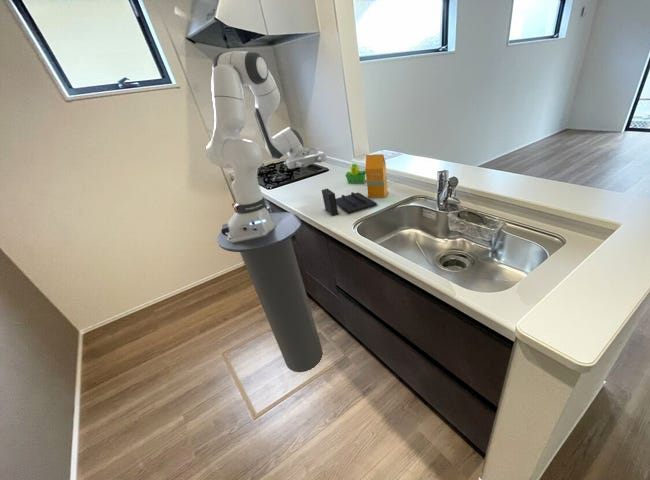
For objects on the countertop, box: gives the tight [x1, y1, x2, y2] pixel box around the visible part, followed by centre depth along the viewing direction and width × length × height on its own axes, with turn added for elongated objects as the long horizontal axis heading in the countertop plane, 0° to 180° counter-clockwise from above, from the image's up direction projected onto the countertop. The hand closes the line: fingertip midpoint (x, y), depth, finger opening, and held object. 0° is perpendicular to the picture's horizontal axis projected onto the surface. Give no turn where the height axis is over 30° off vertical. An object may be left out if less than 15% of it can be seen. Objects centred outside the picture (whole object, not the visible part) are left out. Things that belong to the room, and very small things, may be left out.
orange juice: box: [364, 153, 388, 199], centre depth 149 cm, size 8×9×20 cm
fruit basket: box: [345, 163, 366, 184], centre depth 172 cm, size 11×9×11 cm
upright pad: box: [321, 188, 339, 217], centre depth 139 cm, size 3×9×10 cm, turn 29°
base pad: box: [336, 191, 378, 215], centre depth 147 cm, size 15×20×3 cm
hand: (311, 162), depth 143 cm, fingers open, 8 cm apart
